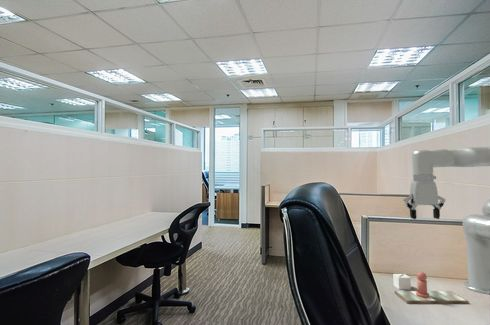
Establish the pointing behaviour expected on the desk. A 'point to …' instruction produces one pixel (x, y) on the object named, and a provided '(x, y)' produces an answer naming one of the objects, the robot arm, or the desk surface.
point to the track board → (431, 297)
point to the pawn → (422, 285)
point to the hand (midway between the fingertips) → (425, 218)
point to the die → (402, 281)
